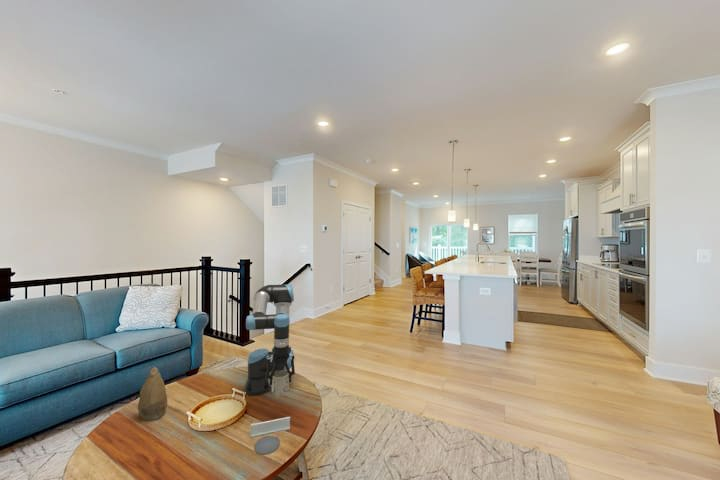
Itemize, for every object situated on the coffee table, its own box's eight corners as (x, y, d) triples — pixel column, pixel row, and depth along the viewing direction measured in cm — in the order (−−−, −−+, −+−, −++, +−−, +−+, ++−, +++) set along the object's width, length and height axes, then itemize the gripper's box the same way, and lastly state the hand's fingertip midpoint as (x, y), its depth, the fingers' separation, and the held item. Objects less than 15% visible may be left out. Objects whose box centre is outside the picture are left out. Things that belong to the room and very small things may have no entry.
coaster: (254, 439, 130) (254, 439, 130) (278, 434, 134) (278, 433, 134) (254, 457, 120) (254, 456, 120) (281, 450, 124) (281, 449, 124)
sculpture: (133, 418, 143) (134, 369, 143) (157, 406, 153) (158, 360, 153) (147, 425, 138) (148, 374, 138) (171, 413, 148) (172, 365, 148)
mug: (282, 398, 140) (281, 378, 140) (262, 394, 145) (262, 374, 145) (292, 390, 148) (292, 371, 148) (273, 386, 152) (273, 368, 153)
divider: (250, 433, 134) (250, 423, 134) (289, 425, 141) (289, 415, 141) (250, 437, 131) (250, 427, 131) (290, 429, 138) (290, 419, 138)
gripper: (261, 350, 139) (260, 396, 139) (301, 345, 146) (300, 390, 146) (260, 344, 146) (259, 389, 146) (299, 340, 153) (298, 382, 153)
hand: (280, 389), depth 146 cm, fingers closed on mug, 7 cm apart
